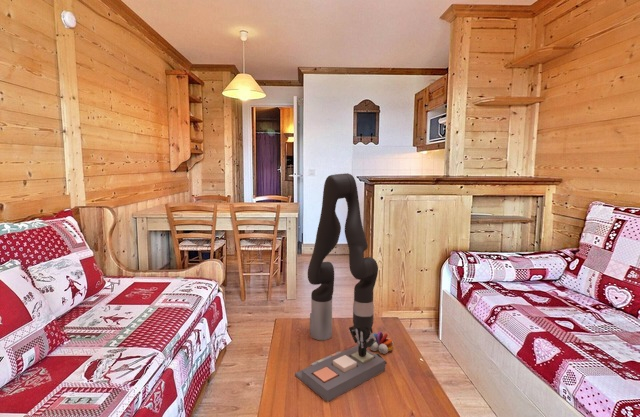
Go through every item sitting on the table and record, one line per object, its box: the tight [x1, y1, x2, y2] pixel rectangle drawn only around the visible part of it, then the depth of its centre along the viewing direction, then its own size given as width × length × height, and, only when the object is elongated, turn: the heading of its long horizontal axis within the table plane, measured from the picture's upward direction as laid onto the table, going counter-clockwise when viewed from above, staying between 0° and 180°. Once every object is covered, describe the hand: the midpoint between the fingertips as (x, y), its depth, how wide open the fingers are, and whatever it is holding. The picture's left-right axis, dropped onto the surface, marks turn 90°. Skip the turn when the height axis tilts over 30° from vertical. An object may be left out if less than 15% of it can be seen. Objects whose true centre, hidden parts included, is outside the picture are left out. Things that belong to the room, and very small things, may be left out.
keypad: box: [294, 344, 387, 403], centre depth 127 cm, size 18×28×4 cm, turn 129°
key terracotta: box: [313, 367, 338, 383], centre depth 119 cm, size 6×6×2 cm
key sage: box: [351, 352, 374, 364], centre depth 131 cm, size 6×6×2 cm
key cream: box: [333, 355, 357, 373], centre depth 125 cm, size 6×6×2 cm
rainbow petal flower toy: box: [369, 331, 394, 355], centre depth 143 cm, size 8×10×7 cm
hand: (362, 355), depth 130 cm, fingers closed
